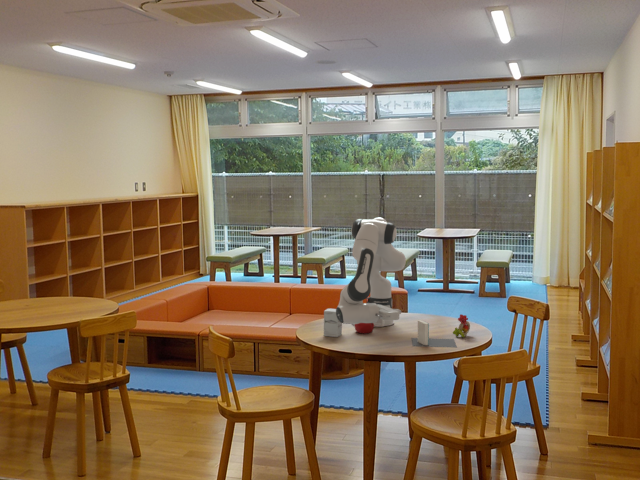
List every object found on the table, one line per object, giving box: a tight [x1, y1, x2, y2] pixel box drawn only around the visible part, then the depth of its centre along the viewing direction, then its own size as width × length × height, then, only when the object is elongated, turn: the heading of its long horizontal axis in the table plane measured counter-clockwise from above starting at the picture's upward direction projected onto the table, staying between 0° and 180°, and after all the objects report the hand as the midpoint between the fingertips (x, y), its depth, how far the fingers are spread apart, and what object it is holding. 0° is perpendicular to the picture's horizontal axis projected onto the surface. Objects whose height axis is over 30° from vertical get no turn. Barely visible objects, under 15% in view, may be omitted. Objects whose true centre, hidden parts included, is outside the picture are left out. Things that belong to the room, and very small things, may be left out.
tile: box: [417, 319, 430, 345], centre depth 305 cm, size 2×7×10 cm, turn 19°
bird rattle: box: [452, 314, 471, 338], centre depth 322 cm, size 6×11×9 cm
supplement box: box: [323, 307, 343, 338], centre depth 323 cm, size 7×7×13 cm
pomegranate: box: [354, 323, 375, 334], centre depth 330 cm, size 10×10×9 cm
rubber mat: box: [411, 337, 458, 348], centre depth 307 cm, size 20×16×1 cm
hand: (399, 311), depth 300 cm, fingers closed
